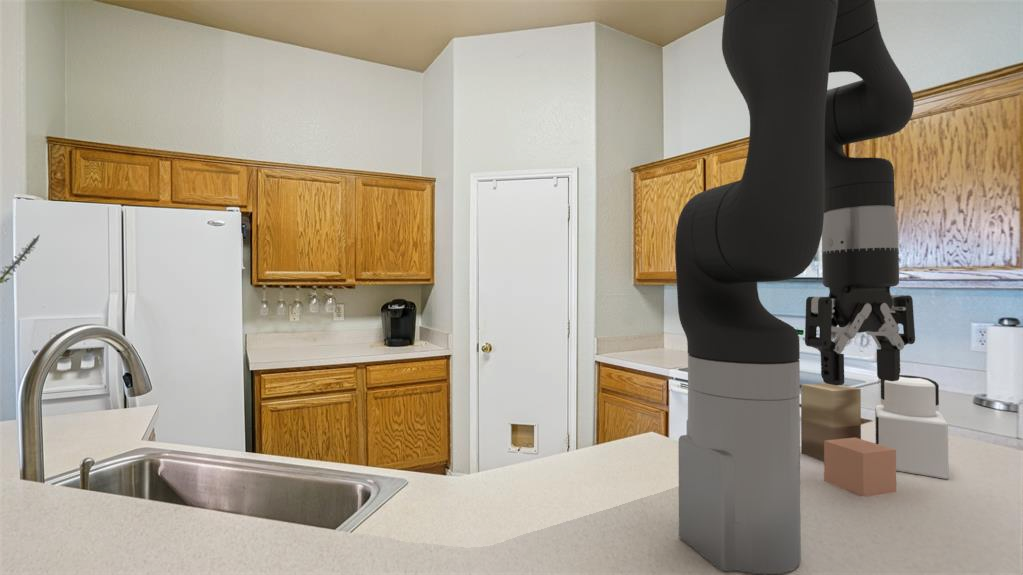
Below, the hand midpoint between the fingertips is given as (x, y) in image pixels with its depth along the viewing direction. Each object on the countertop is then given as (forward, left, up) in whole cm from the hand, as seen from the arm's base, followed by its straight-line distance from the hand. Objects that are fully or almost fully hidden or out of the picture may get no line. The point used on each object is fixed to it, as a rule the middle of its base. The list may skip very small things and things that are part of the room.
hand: (861, 382), depth 58 cm
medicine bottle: (+13, +4, -13) cm, 18 cm away
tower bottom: (+6, +9, -13) cm, 17 cm away
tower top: (+6, +9, -8) cm, 13 cm away
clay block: (0, 0, -13) cm, 13 cm away
